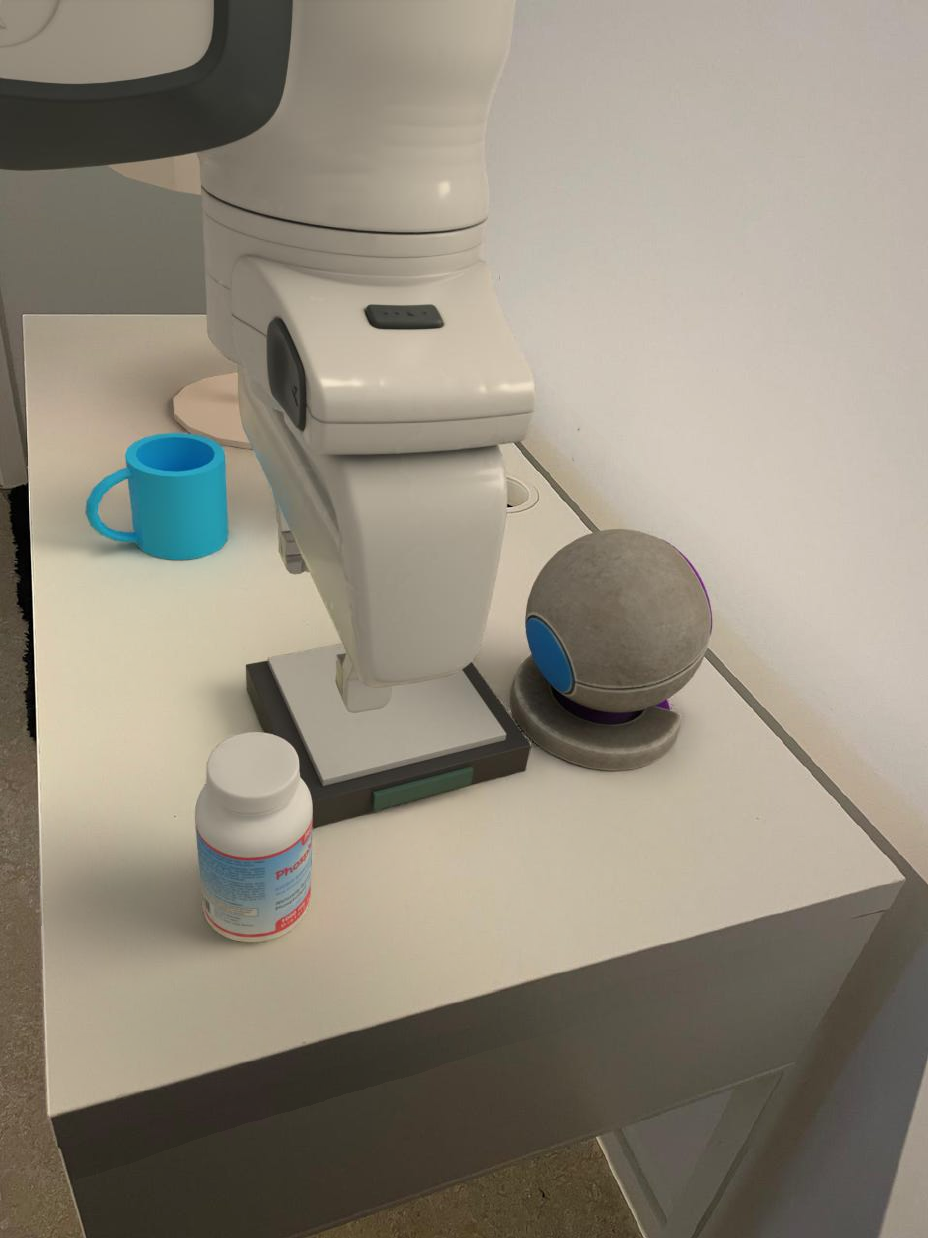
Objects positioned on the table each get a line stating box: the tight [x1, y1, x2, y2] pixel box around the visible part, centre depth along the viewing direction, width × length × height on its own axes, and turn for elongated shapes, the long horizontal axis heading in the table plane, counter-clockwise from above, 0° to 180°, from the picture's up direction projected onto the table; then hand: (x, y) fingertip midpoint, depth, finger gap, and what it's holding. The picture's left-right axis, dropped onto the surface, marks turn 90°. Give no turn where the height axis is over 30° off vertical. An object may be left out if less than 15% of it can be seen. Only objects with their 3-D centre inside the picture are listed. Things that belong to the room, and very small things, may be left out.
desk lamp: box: [106, 153, 254, 451], centre depth 96 cm, size 30×30×31 cm
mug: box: [85, 432, 229, 561], centre depth 78 cm, size 12×8×8 cm
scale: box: [245, 643, 532, 829], centre depth 64 cm, size 16×14×3 cm
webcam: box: [509, 528, 713, 771], centre depth 65 cm, size 13×13×15 cm
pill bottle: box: [194, 731, 313, 943], centre depth 49 cm, size 6×6×11 cm
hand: (329, 625), depth 38 cm, fingers open, 8 cm apart
